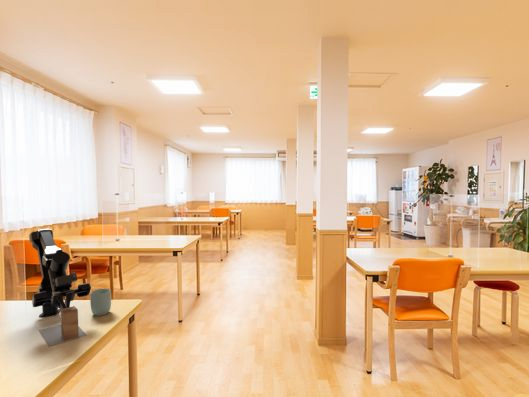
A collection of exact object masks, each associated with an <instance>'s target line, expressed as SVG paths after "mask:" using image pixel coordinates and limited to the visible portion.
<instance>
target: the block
mask: <svg viewBox="0 0 529 397" xmlns="http://www.w3.org/2000/svg"><path fill="white" fill-rule="evenodd" d="M60 310H61V311H60V325H61V335H62V338H63V339H64V340H68V339H72V338H75V337H79V329H78V326H79V309H78V308H77V307H76V306H75V305H73V306H70V307H68V308H64V309H60Z"/></svg>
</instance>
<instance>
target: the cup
mask: <svg viewBox="0 0 529 397" xmlns="http://www.w3.org/2000/svg"><path fill="white" fill-rule="evenodd" d="M111 291H112V289H110V288H97V289H94V290H91V291H90V293H89V300H90V302H89V304H90V310H91V313H92V315H93V316H96V317H101V316H105V315H107V314H109V312H111V308H112V292H111Z"/></svg>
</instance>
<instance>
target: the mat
mask: <svg viewBox="0 0 529 397" xmlns="http://www.w3.org/2000/svg"><path fill="white" fill-rule="evenodd" d="M78 329H79V337H75V338H72V339H68V340H64V339H63V338H62V335H61V324H57V325H54V326H49V327H45V328H43V329H39V330H38V332H39V334H40V335H41V337H42V338H43V339H44V342H45V343H46V345H47V346H48V348H51V347H53V346H57V345H60V344H62V343H67V342H70V341H73V340H77V339H81V338H84V337H87V336H88V335H87V333H86V332H85V331H84V330H83V329H82V328H81V327H80V326H79V325H78Z"/></svg>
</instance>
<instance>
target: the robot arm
mask: <svg viewBox="0 0 529 397" xmlns="http://www.w3.org/2000/svg"><path fill="white" fill-rule="evenodd" d="M28 236H29V237H28V239H29V242H30V244H31V247H32V248H33V249H35V250H36V251H37V258H38V261H39V262H38V263H39V267H40V273H41V279H42V280H41V282H40V284H39V287H38V290H37V292H35V293H34V294H33V295H32V300H31V303H32V308H37V307H41V309H42V312H41V313H40V314H39V315H38V317H40V318H42V317H52V316H57V315H58V314H60V313H61V310H60V309H64V308H68V307H71V302H73V301H74V298H75V296H77V297H79V298H83V297H88V296H90V293H91V291H92V285H91V284H90V283H89V282H85V283H81V284H78V286H77V288H72V286H73V285H72V284H73V283H74V282H77V281H78V276H77V272H70V274H67V271H66V270H67V269H68V266H69V262H70V259H71V256H70V254H69V253H67V252H66V251H63V249H61V248H60V247H58V246H57V244H56V242H55V240H54V230H52V228H42V229H38V230H36V231H35V230H34V231H32V232H30V233H29V234H28ZM64 297H65V298H64Z"/></svg>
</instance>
